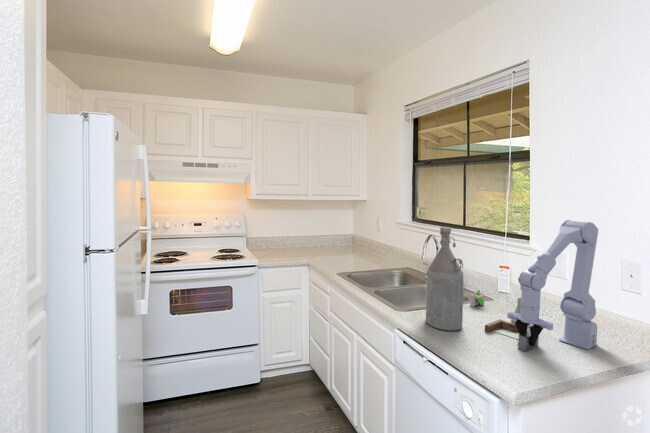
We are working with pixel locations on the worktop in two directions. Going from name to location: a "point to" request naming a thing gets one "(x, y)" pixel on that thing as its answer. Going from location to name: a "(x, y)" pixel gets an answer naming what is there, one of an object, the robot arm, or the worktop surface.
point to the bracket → (526, 341)
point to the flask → (517, 309)
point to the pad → (508, 334)
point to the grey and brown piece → (500, 324)
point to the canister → (445, 287)
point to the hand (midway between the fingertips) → (528, 343)
